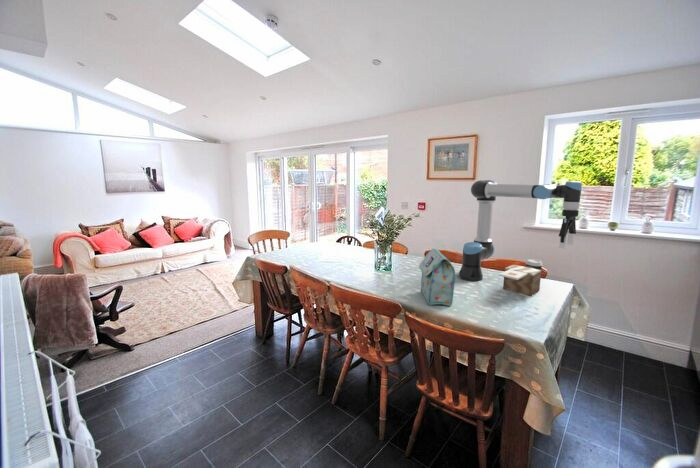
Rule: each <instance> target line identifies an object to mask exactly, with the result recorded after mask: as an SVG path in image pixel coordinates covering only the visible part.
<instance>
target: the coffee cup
mask: <svg viewBox="0 0 700 468" xmlns="http://www.w3.org/2000/svg"><path fill="white" fill-rule="evenodd" d="M543 264H544V263H543V262H542V260H539V259H531V258H529V259H527V260H526V261H525V267H528V268H533V269H538V270H542V268H543V266H544V265H543Z"/></svg>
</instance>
